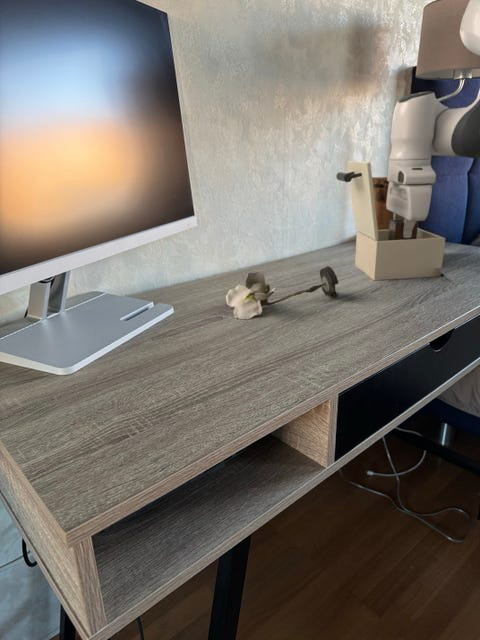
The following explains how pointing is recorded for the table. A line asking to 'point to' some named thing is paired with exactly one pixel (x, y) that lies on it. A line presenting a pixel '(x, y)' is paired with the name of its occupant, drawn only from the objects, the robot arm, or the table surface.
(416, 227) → the cube
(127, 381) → the table surface
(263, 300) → the artificial flower
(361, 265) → the beige open box
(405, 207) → the robot arm
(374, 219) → the lid
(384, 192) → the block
